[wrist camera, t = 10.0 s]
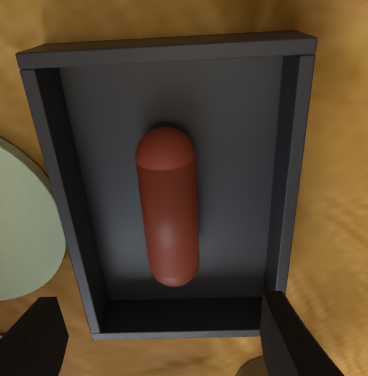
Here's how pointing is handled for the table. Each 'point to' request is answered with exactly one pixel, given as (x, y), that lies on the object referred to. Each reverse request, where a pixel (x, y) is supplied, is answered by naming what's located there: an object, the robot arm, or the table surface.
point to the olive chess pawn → (254, 368)
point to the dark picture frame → (205, 170)
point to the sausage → (169, 204)
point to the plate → (26, 225)
